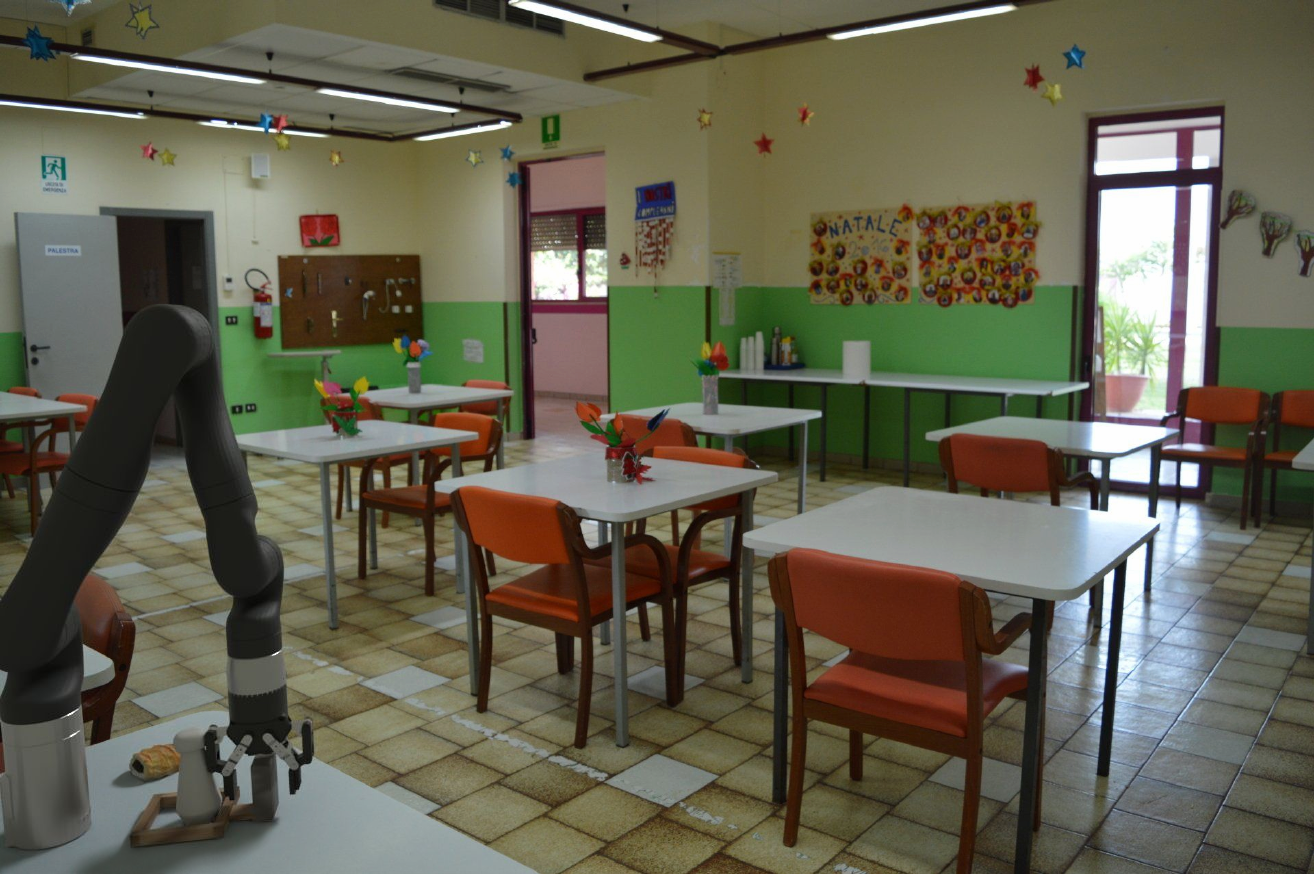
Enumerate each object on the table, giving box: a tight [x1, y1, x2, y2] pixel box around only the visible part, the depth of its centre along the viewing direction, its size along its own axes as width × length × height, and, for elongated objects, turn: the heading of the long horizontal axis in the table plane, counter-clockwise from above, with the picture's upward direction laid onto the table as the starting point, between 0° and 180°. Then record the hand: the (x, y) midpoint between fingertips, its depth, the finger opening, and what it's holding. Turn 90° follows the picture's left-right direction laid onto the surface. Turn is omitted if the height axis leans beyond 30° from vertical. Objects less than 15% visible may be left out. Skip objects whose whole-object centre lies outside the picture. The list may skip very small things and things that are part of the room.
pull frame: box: [129, 752, 280, 848], centre depth 138 cm, size 17×11×8 cm, turn 102°
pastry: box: [128, 743, 180, 781], centre depth 154 cm, size 9×7×4 cm
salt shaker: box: [172, 726, 223, 826], centre depth 137 cm, size 6×6×13 cm
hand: (263, 794), depth 139 cm, fingers open, 7 cm apart
